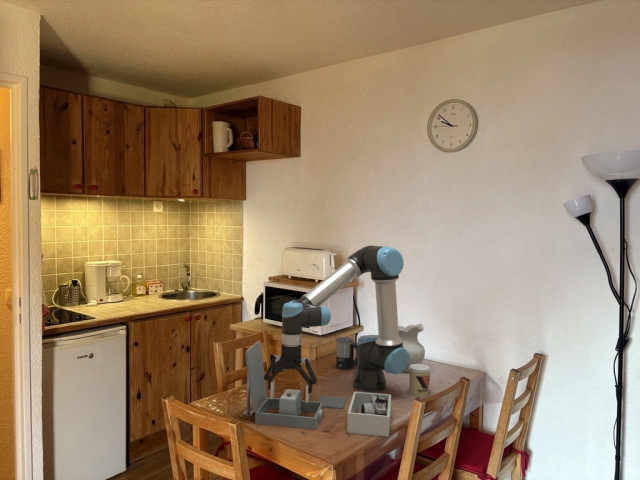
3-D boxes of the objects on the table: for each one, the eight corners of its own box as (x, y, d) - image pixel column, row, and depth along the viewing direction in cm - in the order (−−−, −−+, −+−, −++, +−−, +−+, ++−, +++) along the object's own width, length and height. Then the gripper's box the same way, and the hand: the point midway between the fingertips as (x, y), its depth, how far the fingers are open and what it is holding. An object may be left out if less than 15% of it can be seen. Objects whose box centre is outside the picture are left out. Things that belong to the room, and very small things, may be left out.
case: (324, 412, 185) (324, 402, 185) (317, 429, 170) (317, 418, 169) (267, 407, 189) (267, 397, 189) (255, 423, 174) (255, 412, 173)
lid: (260, 340, 188) (256, 340, 189) (247, 351, 173) (243, 351, 173) (267, 396, 189) (264, 396, 189) (255, 412, 173) (251, 412, 174)
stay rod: (254, 412, 184) (255, 350, 183) (251, 416, 180) (252, 353, 179) (245, 411, 184) (246, 349, 183) (242, 415, 181) (243, 352, 180)
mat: (346, 399, 199) (346, 397, 199) (342, 409, 188) (342, 407, 188) (320, 396, 201) (320, 395, 201) (315, 406, 190) (315, 405, 190)
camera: (359, 413, 185) (359, 388, 184) (381, 413, 185) (382, 388, 185) (365, 431, 169) (365, 404, 169) (390, 431, 170) (390, 403, 169)
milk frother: (333, 369, 239) (334, 340, 238) (339, 360, 254) (339, 333, 253) (361, 372, 236) (362, 342, 235) (365, 362, 251) (366, 335, 250)
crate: (390, 412, 186) (391, 394, 186) (388, 436, 165) (389, 417, 165) (353, 408, 189) (354, 391, 189) (347, 432, 168) (347, 413, 167)
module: (300, 413, 184) (301, 387, 183) (294, 424, 174) (295, 397, 173) (285, 412, 185) (286, 386, 184) (279, 422, 175) (279, 395, 175)
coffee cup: (417, 399, 201) (418, 371, 200) (403, 391, 209) (404, 365, 209) (434, 395, 205) (435, 368, 205) (420, 388, 214) (421, 362, 213)
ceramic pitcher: (377, 372, 239) (378, 324, 236) (387, 359, 257) (387, 314, 254) (420, 378, 231) (421, 329, 228) (427, 364, 248) (428, 318, 246)
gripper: (325, 344, 180) (323, 399, 180) (262, 339, 184) (260, 393, 185) (322, 349, 172) (320, 406, 173) (256, 344, 177) (254, 400, 177)
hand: (289, 399), depth 179 cm, fingers open, 13 cm apart
